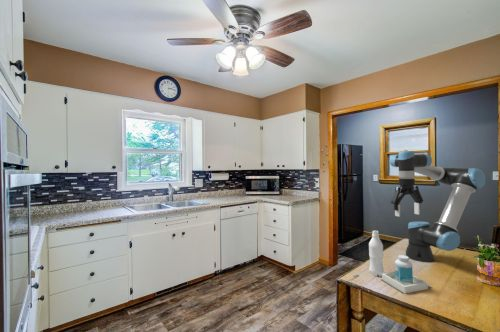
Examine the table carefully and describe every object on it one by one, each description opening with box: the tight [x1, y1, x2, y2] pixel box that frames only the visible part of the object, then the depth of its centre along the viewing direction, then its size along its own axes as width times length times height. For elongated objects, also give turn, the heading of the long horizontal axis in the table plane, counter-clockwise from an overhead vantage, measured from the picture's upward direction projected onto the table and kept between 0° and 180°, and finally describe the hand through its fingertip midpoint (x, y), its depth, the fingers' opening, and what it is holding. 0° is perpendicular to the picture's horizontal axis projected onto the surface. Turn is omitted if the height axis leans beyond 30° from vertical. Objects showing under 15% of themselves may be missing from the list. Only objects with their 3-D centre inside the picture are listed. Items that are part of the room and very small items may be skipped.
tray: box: [381, 271, 429, 294], centre depth 120 cm, size 14×14×3 cm
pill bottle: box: [394, 254, 414, 286], centre depth 120 cm, size 8×7×14 cm
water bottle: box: [368, 229, 385, 278], centre depth 131 cm, size 7×7×25 cm
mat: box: [380, 279, 433, 295], centre depth 120 cm, size 18×14×1 cm
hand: (407, 215), depth 134 cm, fingers open, 13 cm apart
